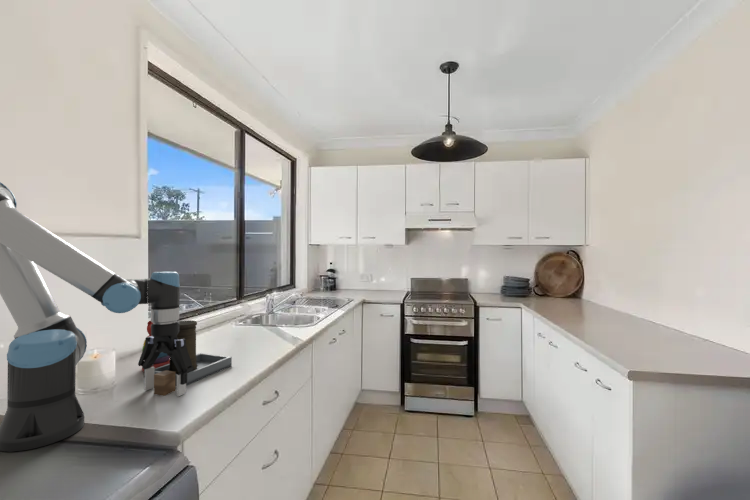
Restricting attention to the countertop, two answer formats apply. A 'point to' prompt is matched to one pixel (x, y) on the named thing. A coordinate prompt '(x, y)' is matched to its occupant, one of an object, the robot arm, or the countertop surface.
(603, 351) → the countertop surface
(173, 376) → the walnut block
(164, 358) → the stacking bear
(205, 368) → the tray
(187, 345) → the container
